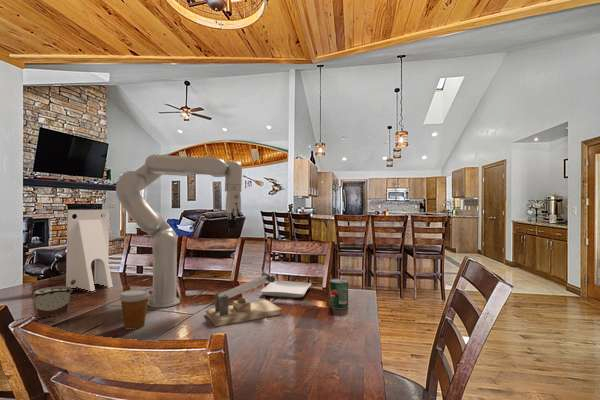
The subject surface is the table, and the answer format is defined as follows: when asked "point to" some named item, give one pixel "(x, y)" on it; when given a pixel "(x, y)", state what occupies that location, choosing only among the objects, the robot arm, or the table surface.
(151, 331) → the table surface
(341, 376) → the table surface
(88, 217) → the white arched stand
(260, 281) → the press lever
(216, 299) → the press base
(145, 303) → the disposable coffee cup
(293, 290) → the salad plate
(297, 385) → the table surface
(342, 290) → the canned tomato
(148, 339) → the table surface
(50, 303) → the food container
